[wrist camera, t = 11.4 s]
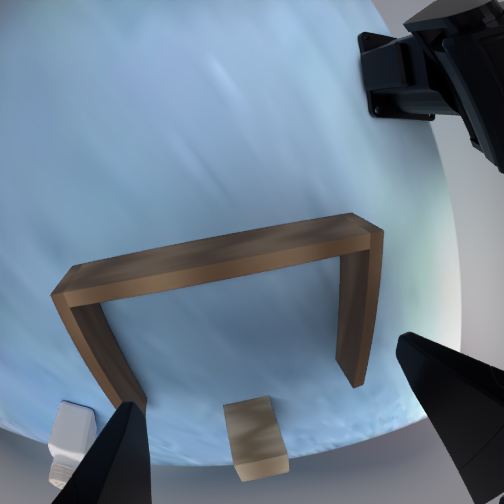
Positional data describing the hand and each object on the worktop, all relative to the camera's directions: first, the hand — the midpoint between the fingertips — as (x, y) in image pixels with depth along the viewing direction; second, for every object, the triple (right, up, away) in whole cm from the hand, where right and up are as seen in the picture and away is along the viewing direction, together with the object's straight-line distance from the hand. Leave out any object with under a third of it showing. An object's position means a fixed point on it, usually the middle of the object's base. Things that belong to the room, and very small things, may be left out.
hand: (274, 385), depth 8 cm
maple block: (-1, -12, +18) cm, 22 cm away
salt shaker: (-19, -13, +14) cm, 27 cm away
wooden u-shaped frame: (-2, -1, +13) cm, 13 cm away
